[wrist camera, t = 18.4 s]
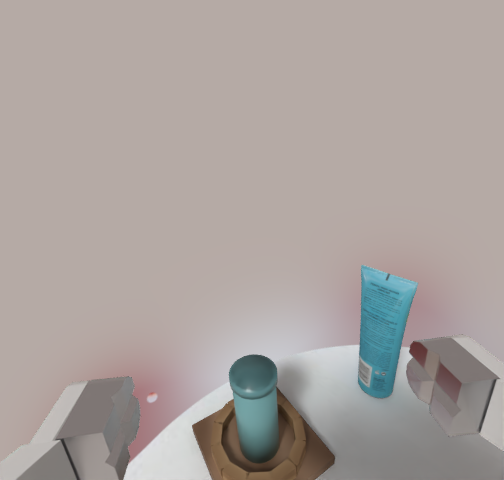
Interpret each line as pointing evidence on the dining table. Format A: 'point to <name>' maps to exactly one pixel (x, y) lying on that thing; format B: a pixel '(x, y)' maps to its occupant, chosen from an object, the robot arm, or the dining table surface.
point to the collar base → (275, 470)
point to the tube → (382, 328)
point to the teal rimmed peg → (256, 406)
